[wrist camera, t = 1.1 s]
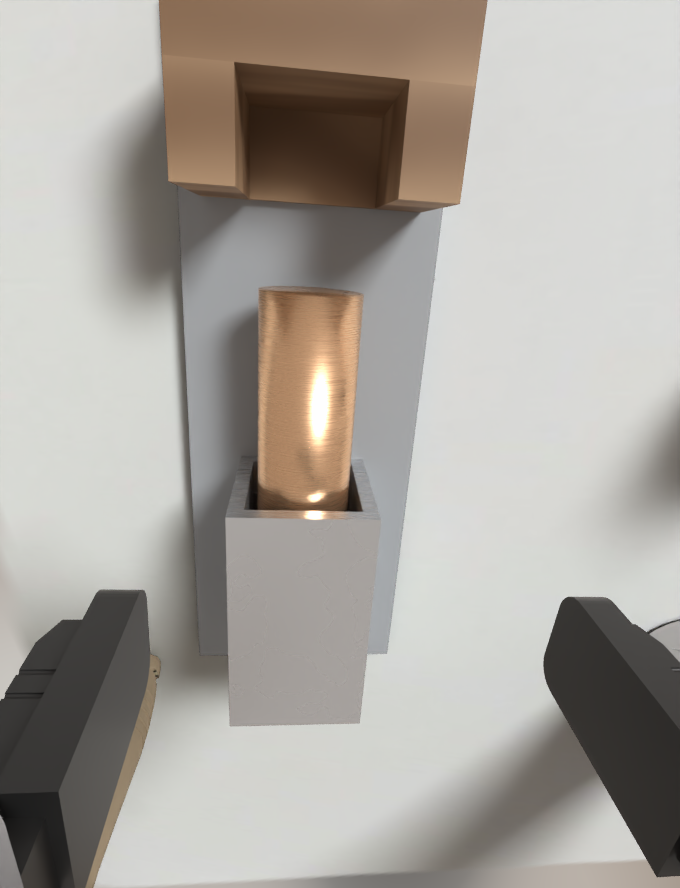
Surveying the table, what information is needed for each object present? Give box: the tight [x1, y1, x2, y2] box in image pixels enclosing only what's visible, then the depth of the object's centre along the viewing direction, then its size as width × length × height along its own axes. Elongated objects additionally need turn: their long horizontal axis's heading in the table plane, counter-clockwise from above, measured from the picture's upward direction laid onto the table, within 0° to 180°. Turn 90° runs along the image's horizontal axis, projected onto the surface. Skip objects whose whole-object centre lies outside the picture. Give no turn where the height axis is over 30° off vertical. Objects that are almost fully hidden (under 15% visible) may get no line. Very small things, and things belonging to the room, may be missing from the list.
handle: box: [85, 654, 161, 888], centre depth 26 cm, size 5×6×15 cm
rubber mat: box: [177, 185, 443, 656], centre depth 27 cm, size 34×12×1 cm, turn 176°
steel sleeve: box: [225, 456, 381, 726], centre depth 27 cm, size 12×7×7 cm, turn 176°
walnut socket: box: [159, 0, 487, 213], centre depth 19 cm, size 6×10×6 cm, turn 86°
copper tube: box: [257, 286, 364, 512], centre depth 25 cm, size 18×4×4 cm, turn 176°
